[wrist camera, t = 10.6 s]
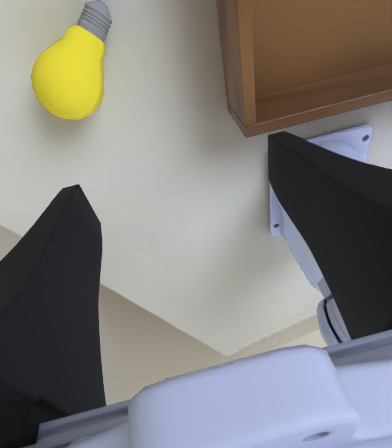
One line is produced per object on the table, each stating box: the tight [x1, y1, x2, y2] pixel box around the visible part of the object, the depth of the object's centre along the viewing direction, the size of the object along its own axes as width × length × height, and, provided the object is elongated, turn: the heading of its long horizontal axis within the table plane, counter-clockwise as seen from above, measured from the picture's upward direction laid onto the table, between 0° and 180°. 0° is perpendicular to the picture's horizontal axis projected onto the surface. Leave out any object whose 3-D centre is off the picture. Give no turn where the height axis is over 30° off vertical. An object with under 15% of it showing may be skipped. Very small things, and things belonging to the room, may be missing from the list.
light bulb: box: [31, 0, 112, 120], centre depth 16 cm, size 3×6×4 cm, turn 145°
